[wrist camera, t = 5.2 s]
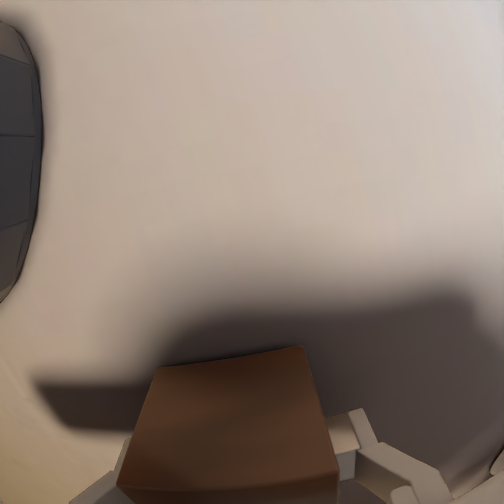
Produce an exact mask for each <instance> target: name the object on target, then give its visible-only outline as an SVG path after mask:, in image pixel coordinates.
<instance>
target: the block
mask: <svg viewBox="0 0 504 504" xmlns="http://www.w3.org/2000/svg"><path fill="white" fill-rule="evenodd" d="M116 486H117V487H118V488H119V489H120V490H121V491H122V492H123V493H124V494H125V495H126V496H127V497H129V498H130V499H131V500H132V501H133V502H134V503H135V504H339V494H340V469H339V465H338V462H337V458H336V455H335V451H334V448H333V445H332V441H331V438H330V434H329V431H328V427H327V424H326V421H325V417H324V414H323V411H322V407H321V404H320V401H319V397H318V394H317V391H316V387H315V384H314V381H313V377H312V374H311V371H310V368H309V364H308V361H307V358H306V355H305V352H304V348H303V347H302V345H299V346H294V347H289V348H285V349H280V350H275V351H270V352H264V353H259V354H253V355H248V356H242V357H236V358H230V359H224V360H217V361H210V362H203V363H196V364H188V365H179V366H171V367H161V368H158V369H157V370H156V373H155V375H154V378H153V380H152V383H151V386H150V388H149V391H148V394H147V396H146V399H145V401H144V404H143V407H142V410H141V412H140V415H139V418H138V420H137V423H136V426H135V429H134V431H133V434H132V437H131V440H130V443H129V446H128V448H127V451H126V454H125V457H124V460H123V463H122V466H121V469H120V472H119V475H118V478H117V481H116Z"/></svg>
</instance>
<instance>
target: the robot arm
mask: <svg viewBox="0 0 504 504" xmlns="http://www.w3.org/2000/svg"><path fill="white" fill-rule="evenodd" d="M325 421H326V424H327V427H328V431H329V434H330V438H331V441H332V445H333V448H334V451H335V455H336V458H337V462H338V465H339V469H340V481H344V480H348V479H352V478H354V479H355V480H356V481H358V482H359V483H360V484H362V485H363V486H364V487H366V488H367V489H368V490H370V491H371V492H372V493H374V494H375V495H376V496H378V497H379V498H381V499H382V500H383V501H385V502H386V504H504V450H503V451H502V452H501V454H500V455H499V457H498V458H497V459H496V461H495V462H494V464H493V466H492V468H491V470H490V473H491V474H492V475H494V476H493V477H491V478H490V479H488V480H487V481H485V482H484V483H482V484H480V485H479V486H477V487H476V488H474V489H472V490H471V491H469V492H467V493H465V494H464V495H462V496H460V497H458V498H456V499H455V500H454V499H453V497H452V495H451V493H450V491H449V489H448V487H447V485H446V484H445V482H444V480H443V478H442V476H441V474H440V472H439V470H437V469H435V468H433V467H431V466H429V465H427V464H425V463H423V462H421V461H419V460H417V459H415V458H413V457H411V456H409V455H407V454H405V453H403V452H401V451H399V450H397V449H395V448H393V447H391V446H389V445H387V444H386V443H384V442H381V443H378V441H377V439H376V437H375V434H374V432H373V430H372V428H371V425H370V423H369V421H368V419H367V416H366V414H365V412H364V410H363V409H362V408H360V409H356V410H353V411H349V412H347V413H346V412H345V413H341V414H338V415H334V416H330V417H326V418H325ZM130 440H131V438H127V439H126V440H125V442H124V445H123V447H122V450H121V453H120V456H119V458H118V461H117V464H116V467H115V469H114V471H109V472H108V473H107V474H106V475H104V476H103V477H102V478H100V479H99V480H98V481H97V482H95V483H94V484H93V485H91V486H90V487H89V488H87V489H86V490H85V491H83V492H82V493H81V494H79V495H78V496H77V497H75V498H74V499H72V500H71V501H70V502H69V504H135V503H134V502H133V501H132V500H131V499H130V498H129V497H127V496H126V495H125V494H124V493H123V492H122V491H121V490H120V489H119V488H118V487H117V486H116V481H117V478H118V475H119V472H120V469H121V466H122V463H123V460H124V457H125V454H126V451H127V448H128V446H129V443H130ZM0 504H7V503H5V502H4V501H2V500H0Z"/></svg>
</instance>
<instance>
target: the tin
mask: <svg viewBox="0 0 504 504" xmlns="http://www.w3.org/2000/svg"><path fill="white" fill-rule="evenodd" d="M41 130H42V123H41V100H40V92H39V83H38V78H37V73H36V69H35V64H34V61H33V58H32V56H31V53H30V50H29V48H28V46H27V45H26V43H25V41H24V40H23V38H22V37H21V36H20V35H19V34H18V33H17V32H16V31H15V30H14V28H12V27H11V26H9V25H7V24H5V23H3V22H1V21H0V302H1V301H2V300H3V299H4V298H5V297H6V296H7V294H8V293H9V291H10V290H11V288H12V286H13V285H14V283H15V281H16V279H17V276H18V274H19V272H20V270H21V267H22V264H23V261H24V258H25V255H26V252H27V248H28V244H29V239H30V235H31V231H32V227H33V220H34V214H35V209H36V203H37V193H38V185H39V176H40V160H41Z"/></svg>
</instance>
